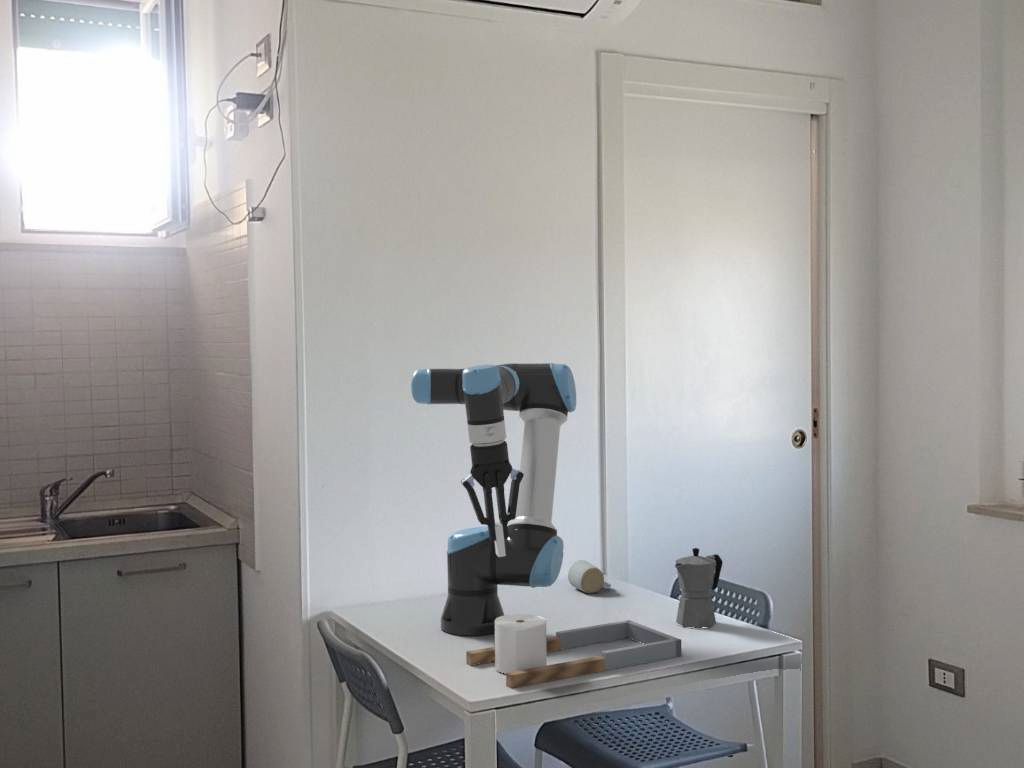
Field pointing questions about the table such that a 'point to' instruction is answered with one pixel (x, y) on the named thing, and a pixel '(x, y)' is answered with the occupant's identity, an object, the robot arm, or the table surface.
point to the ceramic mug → (586, 577)
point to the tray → (651, 650)
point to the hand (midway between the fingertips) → (500, 554)
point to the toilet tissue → (520, 642)
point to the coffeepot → (697, 589)
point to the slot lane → (541, 672)
